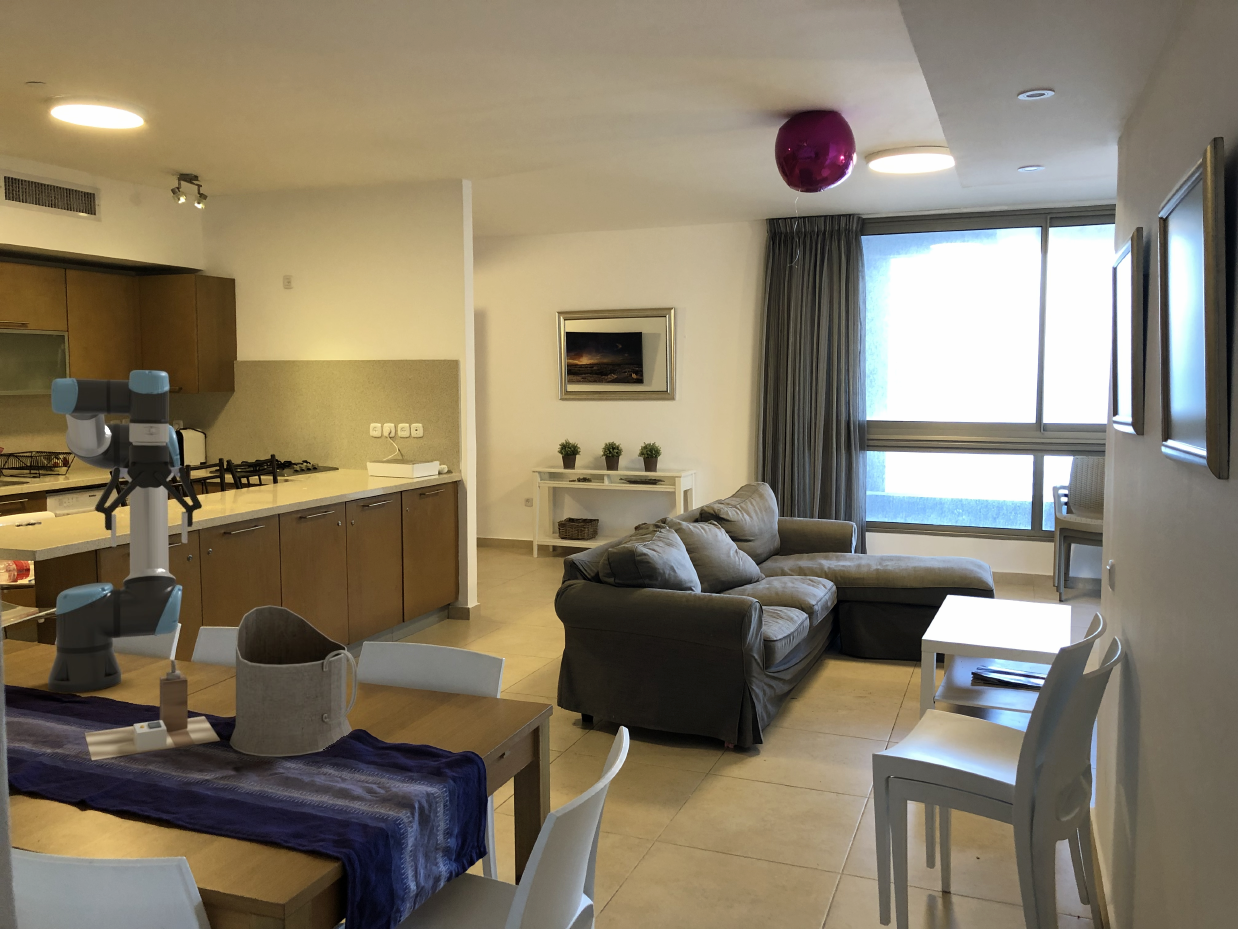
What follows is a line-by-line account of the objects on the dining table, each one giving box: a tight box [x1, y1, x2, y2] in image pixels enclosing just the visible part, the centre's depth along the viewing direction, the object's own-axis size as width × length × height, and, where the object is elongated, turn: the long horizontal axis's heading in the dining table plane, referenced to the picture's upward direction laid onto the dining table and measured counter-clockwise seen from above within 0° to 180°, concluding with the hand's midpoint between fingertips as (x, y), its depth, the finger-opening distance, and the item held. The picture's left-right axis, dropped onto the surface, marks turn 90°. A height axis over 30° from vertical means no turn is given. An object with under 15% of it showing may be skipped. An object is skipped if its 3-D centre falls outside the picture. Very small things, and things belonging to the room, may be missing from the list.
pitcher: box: [229, 605, 358, 757], centre depth 192 cm, size 23×32×25 cm
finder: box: [133, 719, 167, 751], centre depth 185 cm, size 6×5×4 cm
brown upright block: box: [159, 659, 189, 731], centre depth 195 cm, size 4×4×14 cm
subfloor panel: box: [84, 716, 221, 761], centre depth 189 cm, size 17×22×1 cm
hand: (149, 544), depth 204 cm, fingers open, 13 cm apart
